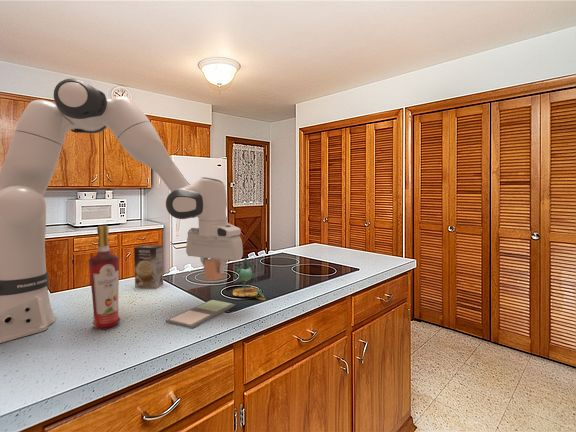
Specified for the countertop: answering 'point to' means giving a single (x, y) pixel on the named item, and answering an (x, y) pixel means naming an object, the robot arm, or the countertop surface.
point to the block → (212, 269)
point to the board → (200, 314)
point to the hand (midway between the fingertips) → (214, 271)
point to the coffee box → (148, 266)
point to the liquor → (104, 283)
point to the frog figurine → (246, 275)
